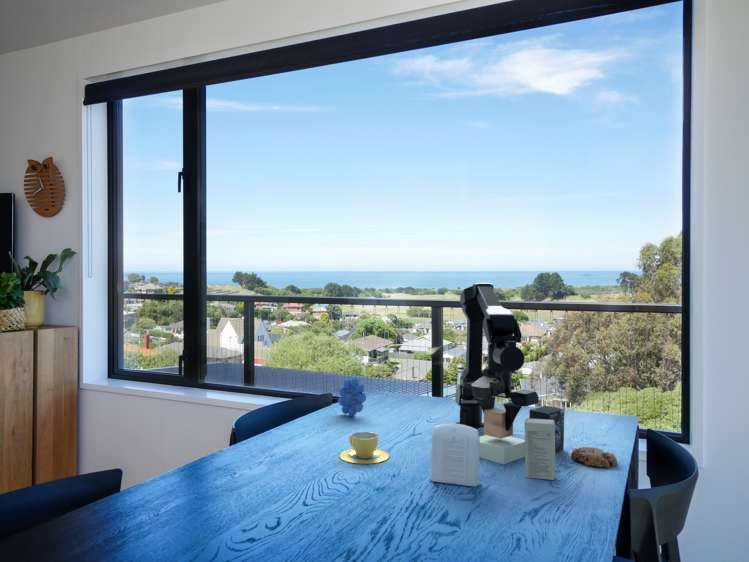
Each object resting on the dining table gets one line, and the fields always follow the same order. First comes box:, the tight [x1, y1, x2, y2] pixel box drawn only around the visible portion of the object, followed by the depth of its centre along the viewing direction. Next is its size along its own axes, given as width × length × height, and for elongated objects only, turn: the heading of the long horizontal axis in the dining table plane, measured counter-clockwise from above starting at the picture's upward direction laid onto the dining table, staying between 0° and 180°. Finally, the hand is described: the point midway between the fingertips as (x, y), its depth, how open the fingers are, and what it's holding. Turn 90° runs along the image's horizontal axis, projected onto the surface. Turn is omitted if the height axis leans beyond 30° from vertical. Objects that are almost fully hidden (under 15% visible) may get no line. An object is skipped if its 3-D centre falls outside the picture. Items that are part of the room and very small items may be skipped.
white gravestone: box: [430, 423, 480, 488], centre depth 127 cm, size 10×4×12 cm, turn 72°
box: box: [529, 405, 566, 454], centre depth 151 cm, size 8×6×11 cm
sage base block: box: [479, 434, 525, 465], centre depth 147 cm, size 10×10×4 cm
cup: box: [339, 431, 390, 465], centre depth 144 cm, size 12×12×5 cm
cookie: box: [570, 446, 618, 469], centre depth 143 cm, size 10×11×3 cm
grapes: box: [337, 377, 367, 417], centre depth 185 cm, size 12×7×12 cm, turn 45°
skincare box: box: [524, 417, 556, 481], centre depth 132 cm, size 6×4×12 cm
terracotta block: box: [483, 406, 514, 439], centre depth 147 cm, size 5×5×6 cm
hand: (498, 428), depth 147 cm, fingers closed on terracotta block, 5 cm apart
